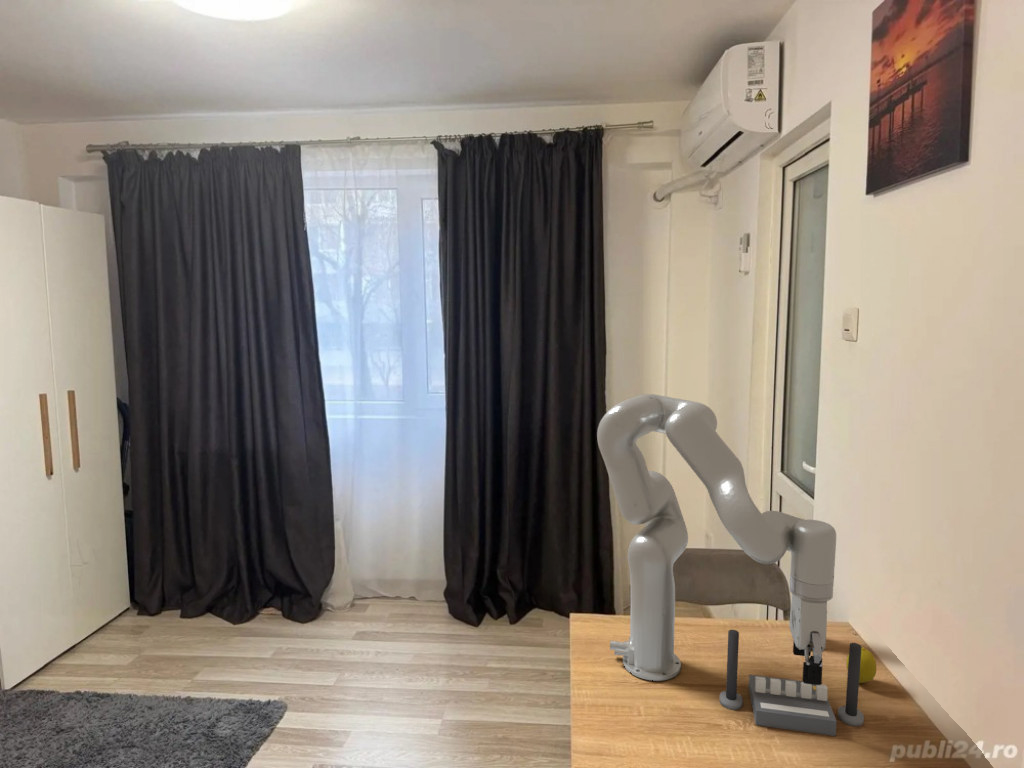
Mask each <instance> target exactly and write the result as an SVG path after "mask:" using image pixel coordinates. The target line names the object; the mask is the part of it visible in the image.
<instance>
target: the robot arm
mask: <svg viewBox="0 0 1024 768" xmlns="http://www.w3.org/2000/svg"><path fill="white" fill-rule="evenodd" d="M717 427H718V420H717V416H716V414H715V412H714V410H712V408H710V407H709V406H707V405H706V404H704V403H701V402H698V401H693V400H686V399H681V398H675V397H670V396H667V395H666V396H665V395H661V394H653V393H645V394H640V395H637V396H634V397H631V398H628V399H625V400H623V401H621V402H619V403H617V404H616V405H614V406H612V407H611V408H610V409H608V411H607V412H606V413H604V415H603V416H602V418H601V419H600V421H599V423H598V426H597V430H596V431H597V432H596V437H597V444H598V449H599V451H600V454H601V457H602V459H603V462H604V465H605V467H606V472H607V474H608V479H609V482H610V484H611V487H612V490H613V494H614V496H615V500H616V503H617V506H618V510H619V512H620V514H621V516H622V517H623V518H624V520H626V521H627V522H628V523H630V524H632V525H635V526H636V525H638V526H639V525H643V524H644V527H643V528H642V529H641V530H639V531H638V532H637V533H636V534H635V535H634V537H632V539H631V541H630V543H629V546H628V549H627V562H628V568H629V576H630V579H629V580H630V612H629V613H630V617H629V618H630V619H629V620H630V622H629V623H630V624H629V627H630V628H629V630H630V631H629V632H630V633H629V634H630V635H629V637H628V641H627V640H624V642H622V641H618V640H610V642H609V650H610V651H611V650H613V651H614V654H613V655H614V656H622V665H623V664H624V665H623V667H624V666H625V667H624V668H625V670H626V671H627V672H629V673H630V672H631V673H632V674H631V673H630V674H631V675H633V676H634V677H636V678H639V679H643V680H645V681H652V680H653V681H654V682H660V681H662V682H663V681H666V680H670V679H672V678H674V677H676V676H678V674H680V673H681V668H682V665H681V663H682V662H681V660H680V658H679V657H678V655H677V654H676V653H675V619H676V618H675V617H676V613H675V612H676V585H675V578H674V571H673V569H674V568H673V567H674V563H675V562H676V561H677V560H678V558H679V557H680V556H681V555H682V554H683V553H684V551H685V550H686V548H687V547H688V543H689V535H688V528H687V525H686V523H685V522H686V521H685V519H684V516H683V512H682V509H681V508H680V504H679V501H678V498H677V495H676V492H675V489H674V488H673V485H672V483H671V482H670V481H669V480H668V478H667V477H666V476H665V475H663V474H662V473H661V472H657V471H655V470H649V469H648V467H647V466H648V465H647V463H646V460H645V457H644V455H643V453H642V451H641V449H640V448H639V447H638V445H637V440H638V439H641V438H642V437H643V436H646V435H647V434H650V433H651V432H655V433H660V434H665V435H666V437H667V439H668V441H669V442H670V443H671V445H672V446H673V447H674V448H675V449H676V451H677V452H678V453H679V456H681V458H683V460H684V461H685V462H686V464H687V465H688V466H689V467H690V469H692V471H693V472H694V474H695V475H696V476H697V478H698V479H699V480H700V481H701V482H702V484H703V485H704V487H705V489H706V490H707V493H708V494H709V498H710V501H711V503H712V505H713V507H714V509H715V511H716V513H717V516H718V517H719V519H720V521H721V523H722V524H723V526H724V528H725V529H726V531H727V532H728V533H729V534H730V536H731V537H732V538H733V540H734V541H735V543H737V544H738V546H739V547H740V549H742V551H743V552H744V553H745V554H746V555H747V556H748V557H750V558H751V559H752V560H754V561H755V562H757V563H760V564H763V565H770V564H771V565H772V564H775V563H777V562H779V561H780V560H781V559H782V558H783V557H784V556H785V555H786V552H787V551H788V552H790V554H791V556H790V575H789V576H790V577H789V592H790V593H791V601H790V603H791V604H790V612H789V624H788V625H789V626H788V627H789V629H790V634H791V636H792V639H793V642H792V643H793V644H792V645H793V646H792V653H793V655H795V656H799V657H800V656H801V657H804V661H803V666H802V679H801V681H803V683H805V684H813V685H821V684H822V685H823V682H822V681H823V652H824V651H825V650H826V644H827V630H828V629H827V627H828V625H827V623H828V602H829V601H831V600H832V599H833V595H834V582H835V580H834V579H835V568H836V567H835V565H836V563H835V562H836V550H837V532H836V529H835V527H834V526H833V525H831V524H830V523H828V522H825V521H822V520H818V519H803V518H800V517H797V516H794V515H791V514H787V513H785V512H782V511H779V510H766V511H763V512H762V513H761V511H760V510H759V509H758V507H757V505H756V504H755V502H754V501H753V499H752V497H751V495H750V493H749V490H748V488H747V487H748V486H747V484H746V477H745V471H744V467H743V465H742V462H741V460H740V459H739V458H738V457H737V455H736V454H735V453H734V452H733V450H731V448H730V447H729V446H728V445H727V444H726V443H725V441H724V440H723V439H722V438H721V437H720V435H719V434H718V432H717V431H716V430H717ZM811 653H812V655H811Z"/></svg>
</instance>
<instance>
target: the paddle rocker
mask: <svg viewBox="0 0 1024 768" xmlns="http://www.w3.org/2000/svg"><path fill="white" fill-rule="evenodd" d="M755 691H756V692H760V693H765V692H766V693H771V694H775V695H786V696H791V697H796V696H797V697H801V698H806V699H811V698H813V699H817V700H822V701H827V698H828V692H829V691H828V686H827V684H823V683H822V684H821V685H816V695H812V685H811V684H805V683H803V682H801V688H800V693H796V682H795V681H789V680H786V681H785V691H781V681H780V679H773V678H770V689H766V679H765V677H756V676H755Z"/></svg>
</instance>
